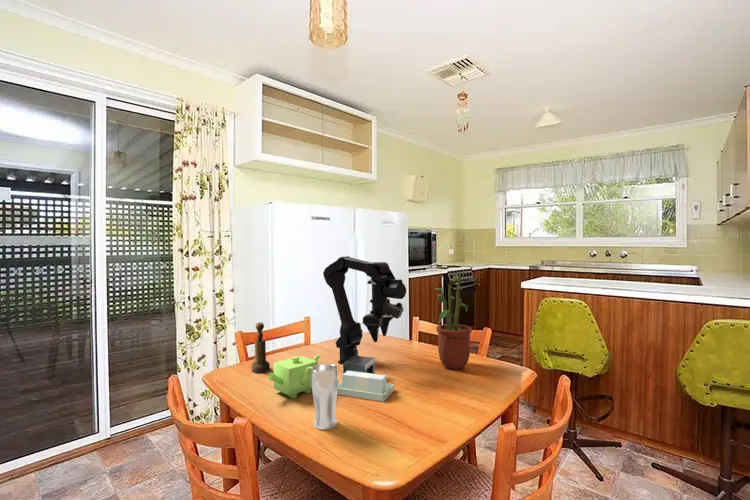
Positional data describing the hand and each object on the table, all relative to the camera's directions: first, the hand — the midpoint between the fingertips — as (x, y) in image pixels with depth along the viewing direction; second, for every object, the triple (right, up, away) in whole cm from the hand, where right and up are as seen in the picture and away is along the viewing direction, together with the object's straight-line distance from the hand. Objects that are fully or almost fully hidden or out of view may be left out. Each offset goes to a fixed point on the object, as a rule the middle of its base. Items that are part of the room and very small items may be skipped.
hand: (380, 338), depth 140 cm
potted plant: (+26, -12, +5) cm, 29 cm away
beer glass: (-15, -13, -40) cm, 45 cm away
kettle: (-27, -13, -18) cm, 35 cm away
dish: (-5, -13, -19) cm, 23 cm away
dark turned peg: (-45, -13, +3) cm, 47 cm away
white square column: (-5, -12, -19) cm, 23 cm away
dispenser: (-7, -12, -7) cm, 16 cm away
